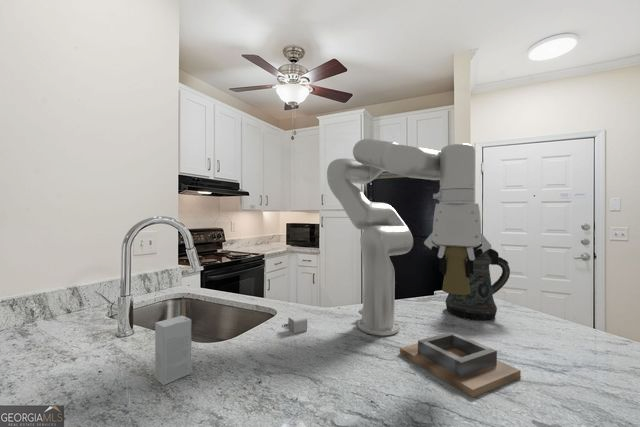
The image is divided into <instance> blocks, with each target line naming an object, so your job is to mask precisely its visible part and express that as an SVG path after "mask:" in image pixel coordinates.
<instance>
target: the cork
mask: <svg viewBox="0 0 640 427" xmlns="http://www.w3.org/2000/svg"><path fill="white" fill-rule="evenodd" d="M444 253H445V257H446V269H445V275H443V282H442V289H441V290H442V292H444V293H445V294H449V293H450V294H456V295H467V294H470V286H469V279H468V278H467V277H466V258H467V257H468V252H467V248H466V247H453V246H446V248H445V252H444Z"/></svg>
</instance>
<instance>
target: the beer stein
mask: <svg viewBox="0 0 640 427" xmlns="http://www.w3.org/2000/svg"><path fill="white" fill-rule="evenodd" d="M482 245H483V244H482V243H480V245H479V246H477V247H473V251H475V250H476V249H478V248H480V247H481V246H482ZM467 259H468V257H467V258H466V265H467ZM490 265H491V266H499V267H500V268H501V270H502V271H501V274H500V277H499V278H498V279H497V280H496V281H495V282H493V284H492V277H491V272H490V271H491V270H490ZM510 275H511V269H510V265H509V262H508V261H507V260H506V259H504V258H502V257H500V256H499V252H498V251H496V250H495V249H494V248H492V247H491V248H490V249H488V250H487V251H485V252H483V253H482V254H480V255H479V256H478V257H477V258H475V259H474V261H473V274H470V278H468V279H469V286H470V294H467V295H456V294H450V293H447V297H446V298H445V306H446V311H447V313H448V314H449V315H450V316H452V317H457V318H459V319H464V320H469V321H476V322H488V321H493V320H495V319H496V315H497V310H498V307H497V305H496V303H495V300H494V297H493V295H495V294H496V293H497V292H499V291H500V290H501V289H502V288H503V287H504V286H505V285H506V284H507V282H508V280H509V279H510Z"/></svg>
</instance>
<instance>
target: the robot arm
mask: <svg viewBox="0 0 640 427" xmlns="http://www.w3.org/2000/svg"><path fill="white" fill-rule="evenodd" d="M352 155H353V159H351V158H336V159H334V160H332V161H331V162H330V163H329V164H328V166H327V170H326V179H327V184H328V187H329V190H330V191H331V193H332V194H333V195H334V197H335V198H336V199H337V201H338V203H340V205H341V207H342V208H343V210H344V212H345V213H346V215H347V217H348V218H349V220H350V221H351V223H352V225H353V226H354V227H355V229H357V230H359V231H362V233H361V234H360V237H359V238H360V239H359V241H360V242H359V243H360V249H361V254H362V266H363V267H362V268H363V272H362V277H363V281H362V282H363V285H362V287H363V288H362V289H363V290H362V295H363V296H362V297H363V298H362V299H363V301H362V304H363V305H362V308H361V309H358V311H357V312H358V314H359V315H361V319H360V320H358V322H357V328H358V329H359V330H361V331H362V332H364V333H366V334H369V335H373V336H381V337H382V336H384V337H385V336H392V335H395V334H397V333H399V331H400V329H401V328H400V324H399V323H398V322H396V321H395V295H396V294H395V292H396V291H395V288H396V287H395V286H396V285H395V284H396V281H395V277H396V276H395V273H396V272H395V267H394V265H393V262H392V261H391V258H390V256H399V255H404V254H407V253H409V252H410V251H411V249H412V248H413V247H414V237H413V235H412V232H411V230H410V228H409V227H408V225H407V224H406V223H405V221H404V220H403V218H401V216H400V215H399V214H398V212H397V211H396V209H395V208H394V207H392V205H390V204H389V203H387V202H379V201H377V202H376V201H375V202H374V201H372V200H371V201H370V200H369V199H368V198H367V197H366V196H365V193H364V192H363V191H362V190H361V189H360V188H359V187H357V185H355V184H361V185H365V184H369V183H371V182H372V181H374V180H375V179H376V178H377V177H379V176H380V175H381V174H382V173H383V172H387V173H391V174H395V175H398V176H402V177H407V178H410V179H422V180H430V181H439V191H438V192H437V193H433V194H432V199H434V200H437V201H438V202H439V203H436V204H435V208H434V212H433V222H432V232H431V233H430V234H429V236H427V238H426V239H425V240H424V241H423V244H424V246H426V247H427V248H429V250H431V251H432V252H433V253H434V254H435V255H436V257H438V264H439V265H438V271H439V272H441V276H444V275H445V269H446V260H447V258H446V256H445V253H444V252H445V248H446V246H453V247H466V248H467V252H468V259H467V265H466V277H467V278H470V274H473V261H474V259H475V258H477V257H478V256H479V255H480V254H482V253H483V252H485V251H487V250H488V249H490V248H491V249H492V248H493V247H492V244H491V243H490V242H489V240H488V239H487V238H486V237H485V236H484V234H483V233H482V223H481V221H482V220H481V218H482V217H481V210H480V205H479V203H476V201H475V200H476V196H475V195H476V189H475V188H476V149H475V147H474V146H473V145H472V144H470V143H453V144H451V143H450V144H447V145H446V146H443V147H442V148H441V150H435V149H430V148H425V147H424V148H423V147H419V146H413V145H405V144H399V143H397V142H395V141H394V142H393V141H388V140H381V139H372V138H362V139H361V140H360V139H359V140H358V141H357V142H356V143H355V144H354V146H353V148H352ZM480 244H482V246H481V247H480V248H478V249H476V250H475V251H473V247H477V246H479V245H480ZM438 246H439V247H438Z"/></svg>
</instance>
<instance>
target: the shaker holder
mask: <svg viewBox="0 0 640 427" xmlns="http://www.w3.org/2000/svg"><path fill="white" fill-rule="evenodd" d="M399 354H400V355H401V356H403V357H404V358H406V359H408V360H410V361H411V362H412V363H415V364H416V365H418V366H419V367H421V368H423V369H425V370H426V371H428V372H430V373H431V374H433V375H434V376H436V377H438V378H439V379H441V380H443V381H445V382H446V383H448V384H449V385H452V386H453V387H454V388H456V389H458V390H459V391H461V392H463V393H465V394H466V395H468V396H469V397H471V398H475V397H477V396H480V395H483V394H484V393H487V392H490V391H491V390H492V391H493V389H496V388H499V387H501V386H503V385H506V384H508V383H510V382H512V381H515V380H517V379H520V378H521V375H522V374H521V371H522V370H521V369H520V368H516V367H514V366H512V365H510V364H507V363H505V362H503V361H501V360H498V357H497V356H498V351H497V350H496V349H493V348H491V347H490V346H489V347H488V346H486V345H484V344H482V343H479V342H477V341H474V340H472V339H470V338H467V337H465V336H462V335H460V334H458V333H456V332H453V331H449V332H446V333H442V334H438V335H435V336H431V337H430V336H429V337H426V338H423V339H418V340H417V343H413V344H410V345H405V346H403V347H400V348H399Z"/></svg>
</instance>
